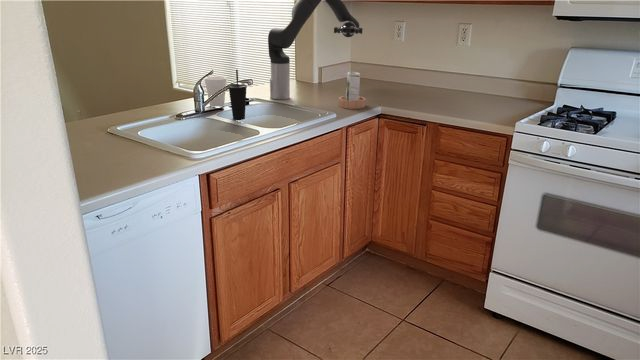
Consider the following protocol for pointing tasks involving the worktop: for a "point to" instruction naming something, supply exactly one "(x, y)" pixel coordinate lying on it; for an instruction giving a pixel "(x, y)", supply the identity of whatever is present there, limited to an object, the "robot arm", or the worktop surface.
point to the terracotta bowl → (351, 103)
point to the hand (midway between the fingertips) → (347, 31)
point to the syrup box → (353, 86)
